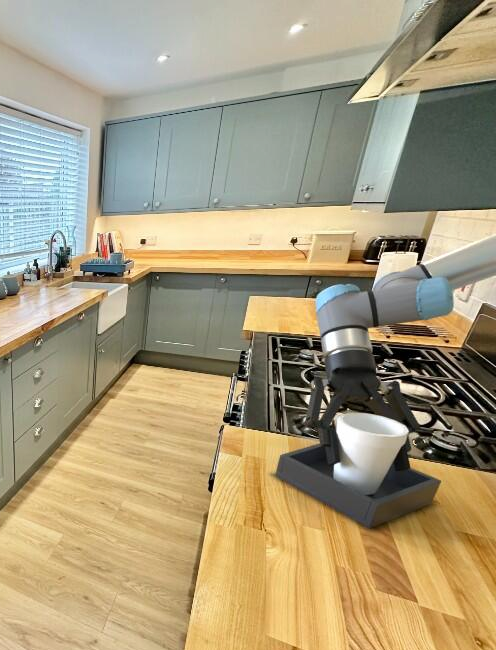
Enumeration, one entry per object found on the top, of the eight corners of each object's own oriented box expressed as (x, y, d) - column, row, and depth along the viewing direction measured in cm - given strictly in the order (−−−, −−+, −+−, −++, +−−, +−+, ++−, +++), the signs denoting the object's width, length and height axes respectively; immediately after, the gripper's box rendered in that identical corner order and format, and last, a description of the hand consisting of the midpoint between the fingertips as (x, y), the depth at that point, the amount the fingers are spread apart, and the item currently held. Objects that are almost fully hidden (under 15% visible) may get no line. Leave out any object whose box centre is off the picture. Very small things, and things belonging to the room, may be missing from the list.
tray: (431, 503, 76) (441, 480, 74) (369, 528, 71) (378, 504, 69) (332, 457, 91) (338, 437, 89) (274, 475, 86) (280, 454, 84)
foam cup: (355, 503, 75) (373, 439, 70) (310, 474, 83) (325, 416, 79) (402, 495, 75) (424, 432, 71) (353, 468, 84) (370, 410, 79)
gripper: (403, 366, 84) (429, 477, 76) (276, 362, 90) (288, 464, 82) (430, 349, 77) (462, 469, 69) (291, 346, 83) (306, 455, 75)
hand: (367, 466), depth 75 cm, fingers closed on foam cup, 10 cm apart
